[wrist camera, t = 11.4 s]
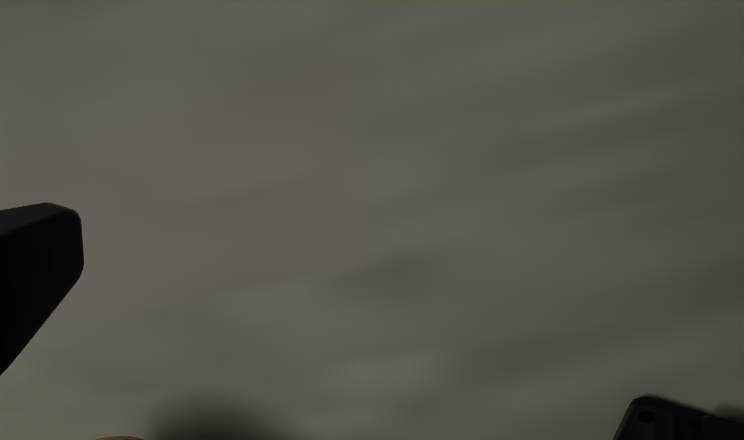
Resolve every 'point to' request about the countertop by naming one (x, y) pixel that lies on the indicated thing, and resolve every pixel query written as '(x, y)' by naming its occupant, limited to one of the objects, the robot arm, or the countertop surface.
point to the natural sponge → (121, 438)
